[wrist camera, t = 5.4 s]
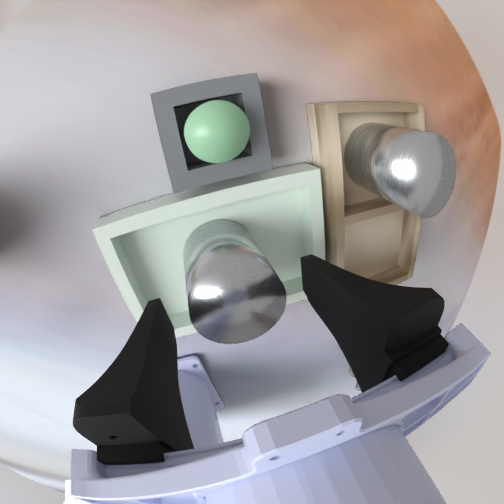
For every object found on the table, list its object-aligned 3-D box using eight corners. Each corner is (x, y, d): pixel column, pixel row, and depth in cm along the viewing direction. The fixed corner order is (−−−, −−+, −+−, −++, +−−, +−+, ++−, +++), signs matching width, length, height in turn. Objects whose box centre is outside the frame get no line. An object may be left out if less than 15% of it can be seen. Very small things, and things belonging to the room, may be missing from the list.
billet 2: (395, 183, 17) (452, 209, 13) (345, 194, 17) (402, 226, 12) (394, 121, 15) (457, 133, 10) (340, 124, 14) (405, 134, 10)
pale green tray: (313, 277, 20) (325, 291, 19) (150, 325, 19) (149, 344, 17) (304, 162, 16) (319, 168, 14) (100, 216, 14) (92, 229, 12)
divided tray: (394, 263, 23) (412, 277, 20) (320, 291, 21) (335, 310, 19) (399, 102, 15) (423, 104, 13) (305, 103, 14) (326, 103, 12)
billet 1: (260, 273, 18) (290, 327, 14) (194, 292, 18) (205, 353, 13) (248, 210, 16) (281, 252, 12) (173, 230, 16) (175, 283, 11)
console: (258, 161, 15) (273, 169, 13) (174, 182, 15) (174, 193, 12) (244, 79, 13) (256, 73, 11) (154, 98, 12) (150, 94, 10)
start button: (244, 150, 13) (254, 155, 12) (190, 163, 13) (192, 170, 11) (234, 98, 12) (243, 95, 10) (178, 110, 11) (178, 108, 10)
